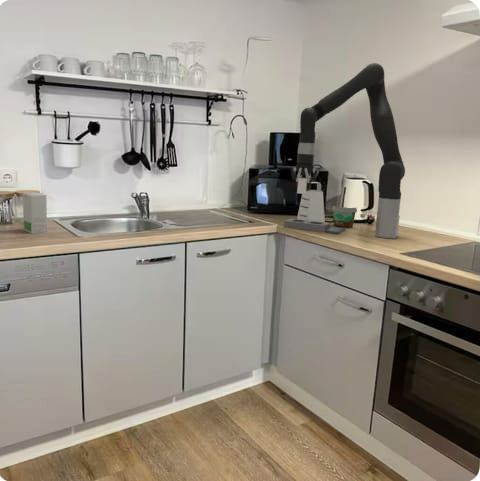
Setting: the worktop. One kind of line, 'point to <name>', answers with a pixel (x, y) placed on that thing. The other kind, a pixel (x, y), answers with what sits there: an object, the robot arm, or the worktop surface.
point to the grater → (312, 205)
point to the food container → (343, 216)
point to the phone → (335, 230)
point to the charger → (302, 186)
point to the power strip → (307, 225)
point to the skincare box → (35, 212)
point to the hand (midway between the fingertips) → (302, 190)
